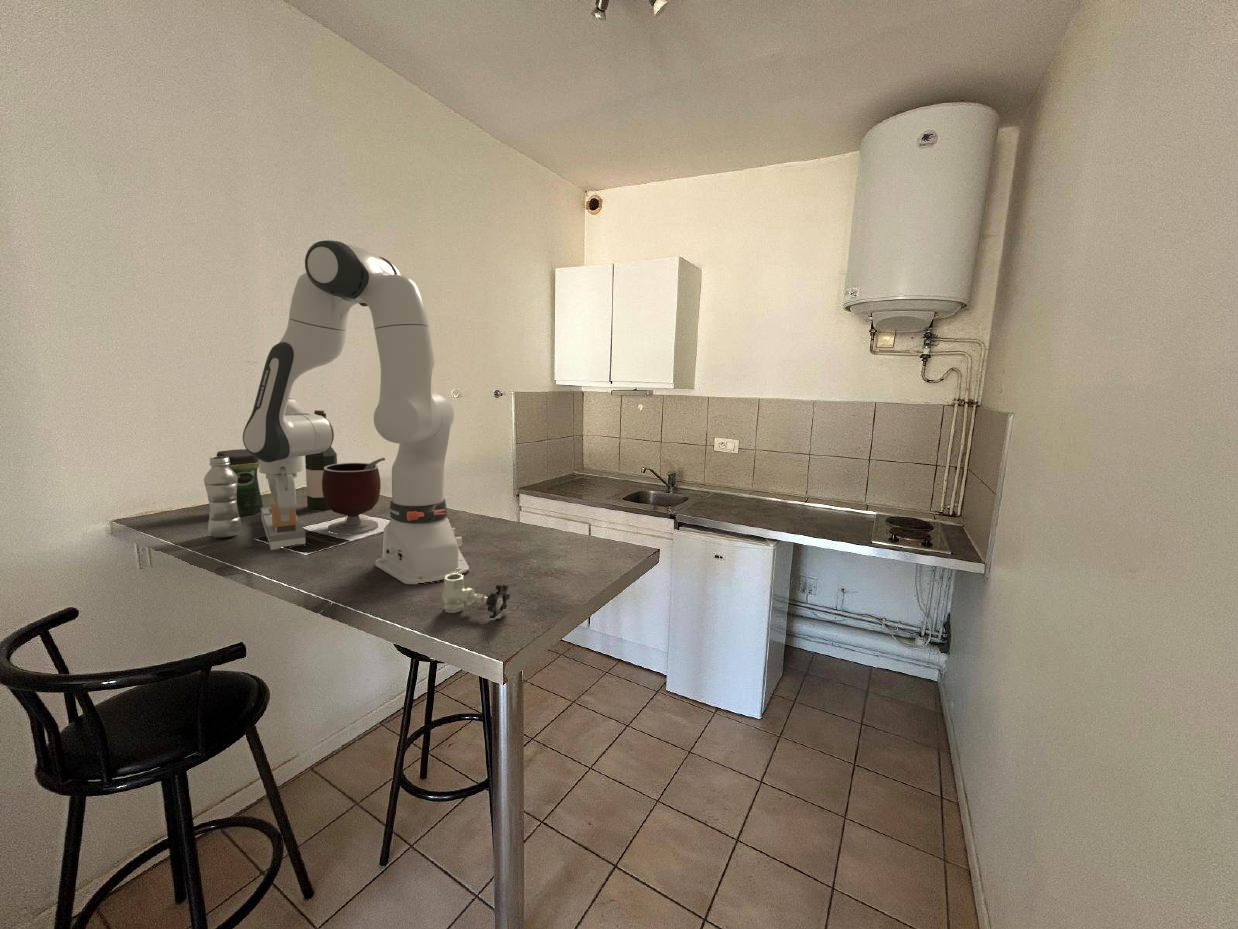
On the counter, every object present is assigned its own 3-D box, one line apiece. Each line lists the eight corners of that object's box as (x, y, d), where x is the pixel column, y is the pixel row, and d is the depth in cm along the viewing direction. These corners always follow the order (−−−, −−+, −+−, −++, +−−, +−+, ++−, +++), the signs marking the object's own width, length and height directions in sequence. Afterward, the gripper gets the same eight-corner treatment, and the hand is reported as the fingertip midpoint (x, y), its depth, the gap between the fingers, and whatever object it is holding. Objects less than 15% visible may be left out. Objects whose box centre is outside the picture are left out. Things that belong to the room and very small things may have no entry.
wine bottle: (336, 503, 158) (332, 409, 153) (341, 509, 151) (337, 412, 146) (305, 505, 152) (300, 409, 147) (309, 512, 146) (305, 411, 141)
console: (305, 545, 120) (305, 531, 119) (270, 550, 115) (269, 535, 115) (291, 516, 141) (290, 504, 140) (261, 520, 136) (260, 507, 136)
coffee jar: (256, 507, 148) (252, 446, 144) (266, 512, 143) (262, 450, 140) (216, 513, 140) (211, 449, 137) (226, 519, 135) (220, 452, 132)
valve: (433, 615, 89) (492, 628, 86) (433, 581, 88) (492, 592, 85) (454, 600, 96) (509, 611, 93) (454, 568, 95) (510, 578, 92)
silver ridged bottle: (249, 533, 125) (243, 456, 122) (225, 541, 119) (219, 460, 115) (225, 531, 126) (220, 454, 122) (201, 539, 119) (194, 458, 116)
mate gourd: (314, 535, 127) (310, 459, 123) (337, 520, 140) (334, 451, 137) (377, 536, 129) (375, 461, 126) (394, 521, 142) (393, 453, 139)
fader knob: (296, 531, 123) (295, 505, 122) (273, 534, 120) (272, 508, 119) (295, 528, 125) (294, 503, 124) (272, 530, 122) (270, 505, 121)
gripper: (302, 470, 114) (305, 527, 116) (291, 457, 129) (293, 507, 132) (268, 472, 110) (272, 531, 112) (261, 458, 125) (265, 510, 128)
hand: (284, 518), depth 122 cm, fingers closed on fader knob, 2 cm apart
